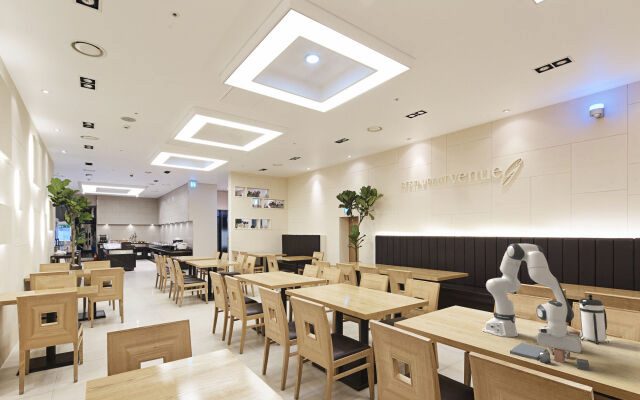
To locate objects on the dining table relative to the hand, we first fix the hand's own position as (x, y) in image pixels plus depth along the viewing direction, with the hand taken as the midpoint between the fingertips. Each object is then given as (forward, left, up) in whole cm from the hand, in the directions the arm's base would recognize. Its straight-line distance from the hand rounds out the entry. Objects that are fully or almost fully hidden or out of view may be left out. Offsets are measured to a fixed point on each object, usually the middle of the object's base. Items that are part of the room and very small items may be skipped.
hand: (559, 356), depth 185 cm
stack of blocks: (-3, +31, -3) cm, 31 cm away
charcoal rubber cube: (+11, -3, -2) cm, 12 cm away
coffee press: (+7, +55, -2) cm, 56 cm away
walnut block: (0, +9, -2) cm, 9 cm away
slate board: (-16, +2, -2) cm, 16 cm away
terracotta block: (0, 0, -2) cm, 2 cm away
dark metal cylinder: (-5, -8, -2) cm, 10 cm away
